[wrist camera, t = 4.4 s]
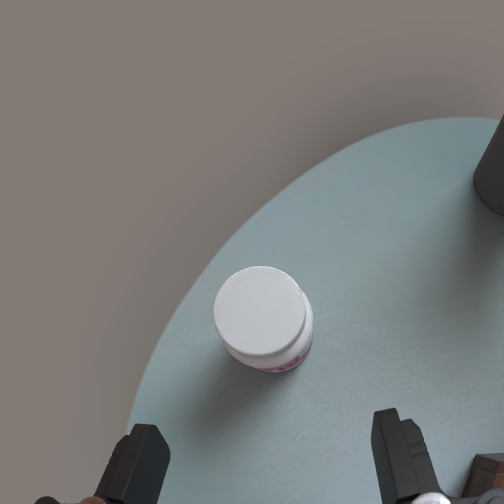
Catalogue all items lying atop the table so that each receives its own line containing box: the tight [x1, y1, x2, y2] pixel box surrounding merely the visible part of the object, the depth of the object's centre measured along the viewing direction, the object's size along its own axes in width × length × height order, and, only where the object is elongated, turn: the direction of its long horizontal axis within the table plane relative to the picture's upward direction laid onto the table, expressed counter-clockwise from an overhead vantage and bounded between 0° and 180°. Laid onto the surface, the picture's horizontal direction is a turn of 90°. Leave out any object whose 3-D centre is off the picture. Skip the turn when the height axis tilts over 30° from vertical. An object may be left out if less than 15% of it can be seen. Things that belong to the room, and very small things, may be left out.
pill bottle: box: [213, 266, 313, 373], centre depth 17 cm, size 5×5×8 cm
